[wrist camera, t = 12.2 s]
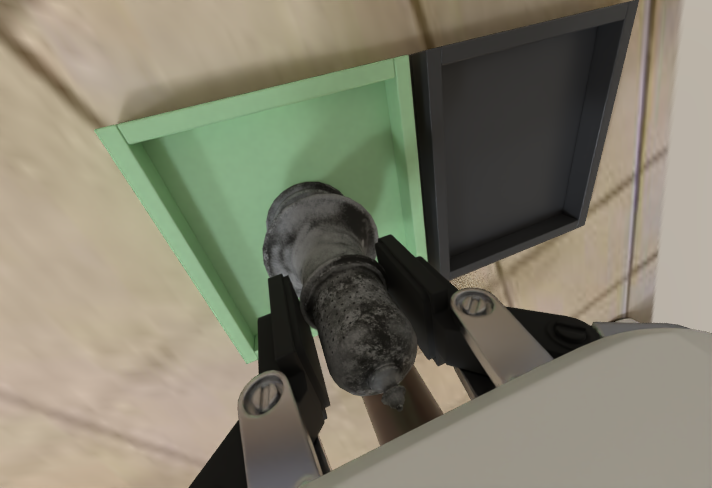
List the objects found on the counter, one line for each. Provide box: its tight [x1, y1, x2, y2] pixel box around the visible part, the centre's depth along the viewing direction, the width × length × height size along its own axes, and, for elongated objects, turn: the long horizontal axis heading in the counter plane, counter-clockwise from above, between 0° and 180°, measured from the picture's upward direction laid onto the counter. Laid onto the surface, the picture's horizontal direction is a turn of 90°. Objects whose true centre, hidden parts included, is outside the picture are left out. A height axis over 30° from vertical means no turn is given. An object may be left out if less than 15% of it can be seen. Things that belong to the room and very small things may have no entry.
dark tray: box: [408, 0, 639, 281], centre depth 19 cm, size 14×15×2 cm
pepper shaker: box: [362, 365, 443, 446], centre depth 21 cm, size 5×5×11 cm
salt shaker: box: [262, 182, 417, 412], centre depth 12 cm, size 6×6×12 cm
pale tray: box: [94, 55, 428, 364], centre depth 16 cm, size 14×15×2 cm
